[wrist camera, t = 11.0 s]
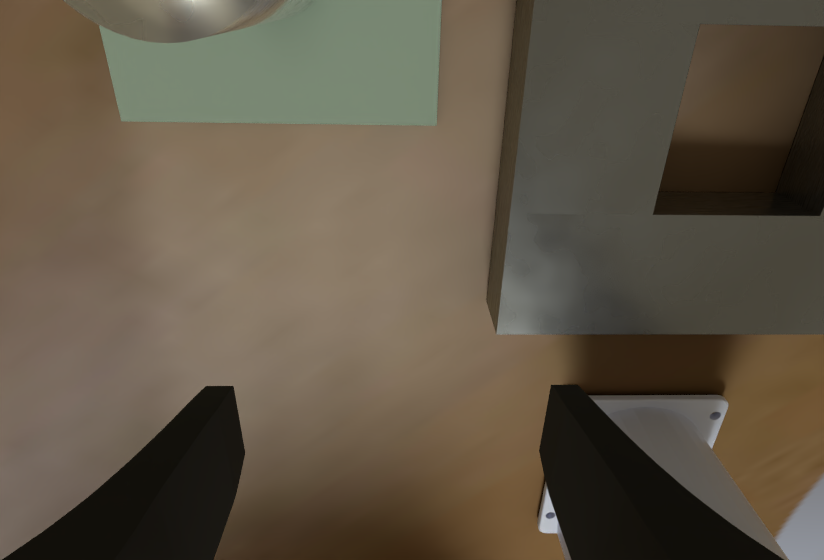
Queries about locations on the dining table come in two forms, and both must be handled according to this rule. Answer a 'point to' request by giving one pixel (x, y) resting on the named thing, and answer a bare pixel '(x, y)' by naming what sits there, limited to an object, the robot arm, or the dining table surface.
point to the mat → (290, 69)
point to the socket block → (642, 184)
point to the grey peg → (184, 16)
